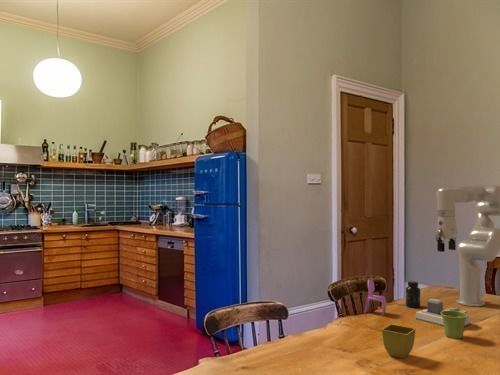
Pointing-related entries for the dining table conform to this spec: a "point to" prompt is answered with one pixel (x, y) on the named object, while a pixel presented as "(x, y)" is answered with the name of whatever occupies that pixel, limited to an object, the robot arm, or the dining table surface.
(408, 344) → the flower pot
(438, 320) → the socket plate
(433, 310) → the plug
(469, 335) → the dining table surface
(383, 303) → the toy chair
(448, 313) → the plant pot
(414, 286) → the supplement bottle
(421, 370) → the dining table surface
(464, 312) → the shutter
